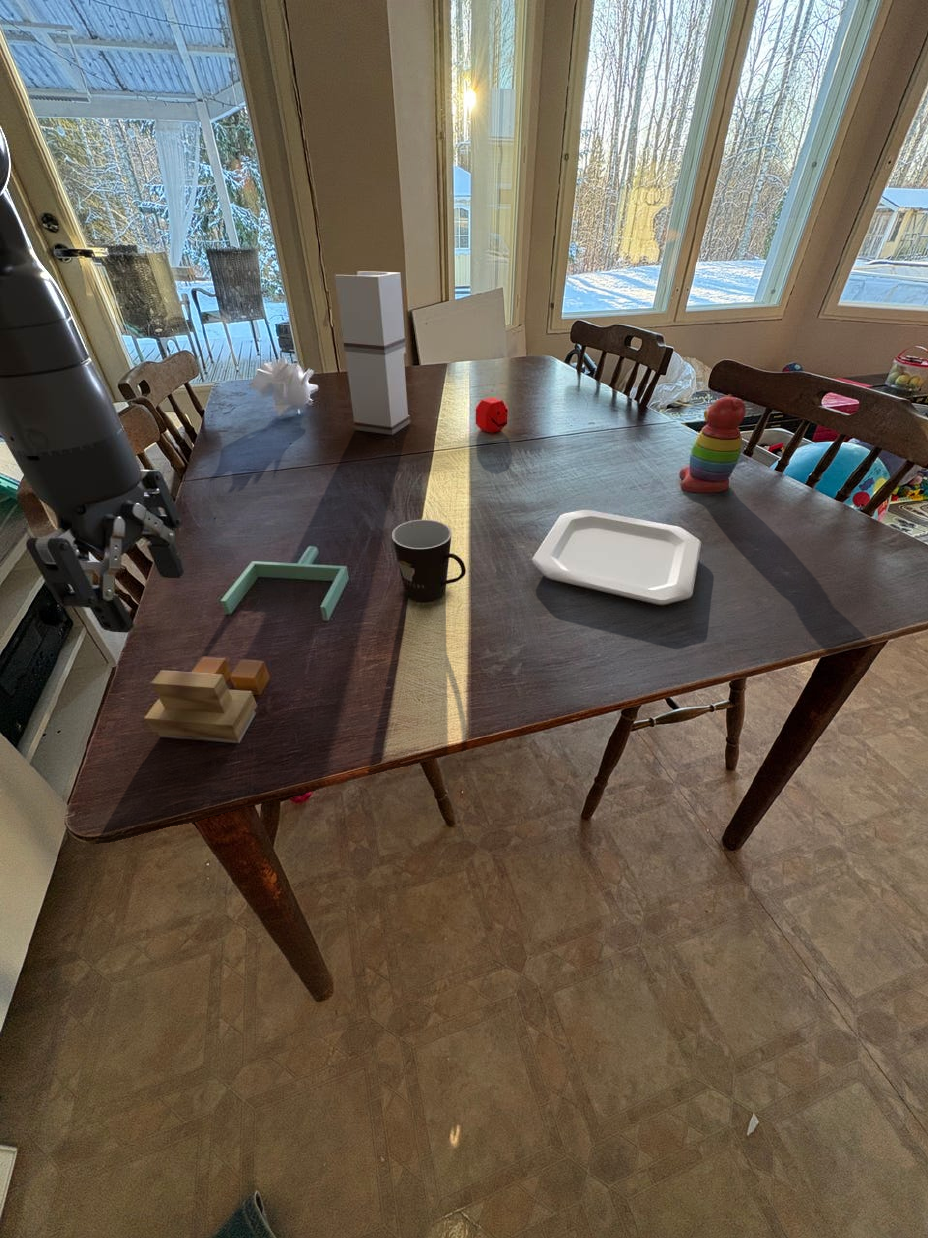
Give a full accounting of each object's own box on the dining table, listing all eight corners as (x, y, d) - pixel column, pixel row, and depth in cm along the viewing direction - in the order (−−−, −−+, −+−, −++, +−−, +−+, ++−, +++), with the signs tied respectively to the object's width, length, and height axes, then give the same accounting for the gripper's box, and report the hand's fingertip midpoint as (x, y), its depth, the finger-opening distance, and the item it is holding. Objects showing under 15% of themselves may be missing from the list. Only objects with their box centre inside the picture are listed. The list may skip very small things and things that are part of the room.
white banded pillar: (410, 422, 143) (400, 272, 121) (392, 434, 135) (377, 276, 114) (375, 418, 146) (358, 270, 125) (355, 429, 139) (334, 274, 117)
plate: (523, 581, 82) (524, 569, 80) (564, 515, 99) (566, 504, 98) (686, 620, 74) (690, 608, 72) (700, 541, 91) (703, 530, 90)
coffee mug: (390, 582, 81) (383, 526, 75) (440, 570, 84) (437, 515, 78) (416, 624, 73) (411, 565, 67) (470, 608, 76) (470, 550, 70)
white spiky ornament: (310, 373, 136) (263, 333, 133) (278, 426, 142) (233, 389, 140) (336, 377, 154) (295, 341, 152) (306, 423, 160) (267, 390, 158)
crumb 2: (260, 695, 63) (253, 678, 61) (236, 693, 63) (229, 676, 61) (269, 678, 65) (264, 660, 63) (247, 676, 65) (240, 659, 63)
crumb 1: (221, 692, 63) (213, 675, 61) (198, 690, 63) (189, 673, 61) (232, 675, 65) (225, 658, 63) (209, 673, 66) (202, 656, 64)
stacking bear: (678, 471, 116) (700, 387, 105) (726, 476, 113) (754, 391, 102) (680, 491, 108) (704, 402, 96) (731, 496, 105) (763, 407, 94)
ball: (490, 436, 134) (491, 406, 129) (470, 429, 138) (470, 399, 134) (512, 430, 138) (513, 400, 133) (491, 422, 143) (492, 394, 138)
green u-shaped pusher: (328, 621, 74) (325, 607, 72) (225, 614, 75) (220, 600, 74) (358, 559, 87) (356, 546, 85) (270, 554, 88) (267, 542, 87)
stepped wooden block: (259, 711, 61) (242, 665, 56) (240, 746, 57) (220, 699, 52) (179, 705, 61) (155, 659, 57) (155, 738, 57) (128, 692, 53)
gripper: (82, 401, 44) (154, 559, 55) (-65, 464, 33) (59, 648, 44) (164, 403, 44) (221, 563, 54) (41, 468, 33) (142, 654, 43)
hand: (149, 601), depth 49 cm, fingers open, 8 cm apart
